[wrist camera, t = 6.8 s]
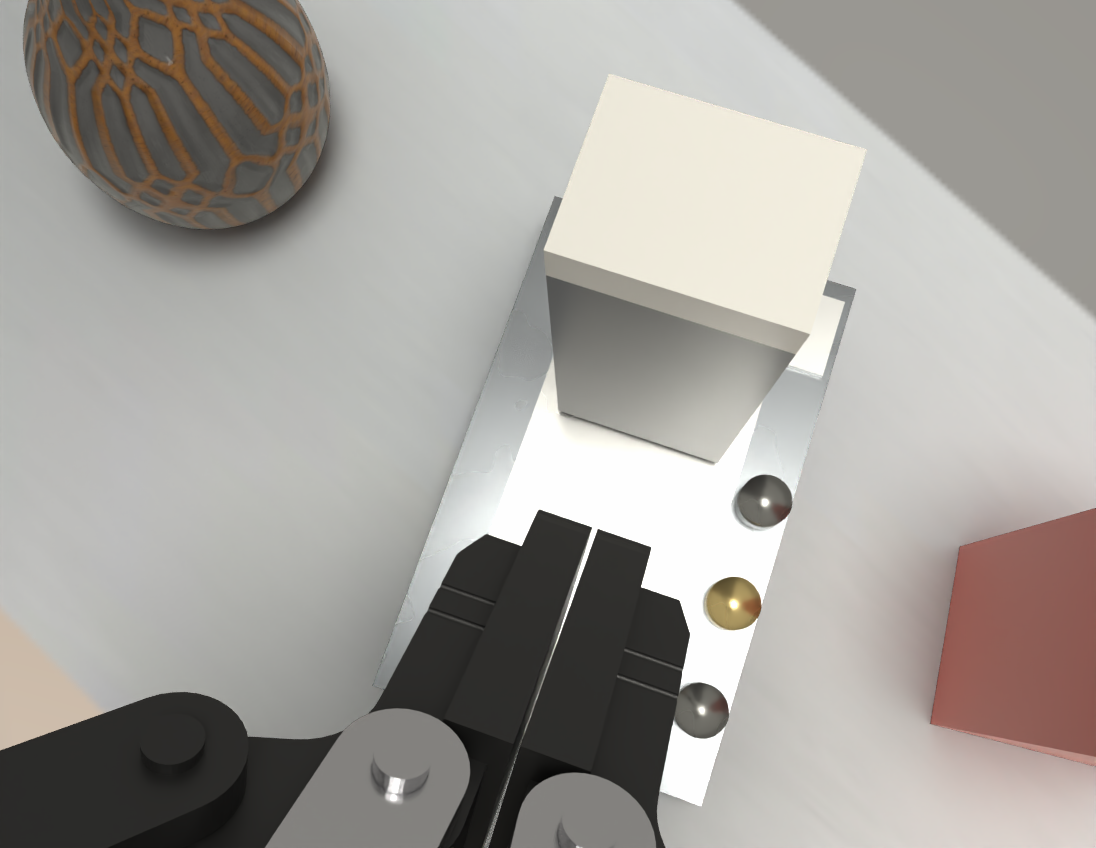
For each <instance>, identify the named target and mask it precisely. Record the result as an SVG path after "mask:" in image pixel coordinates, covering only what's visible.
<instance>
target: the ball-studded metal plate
mask: <svg viewBox="0 0 1096 848" xmlns="http://www.w3.org/2000/svg"><path fill="white" fill-rule="evenodd" d="M562 199H563V198H559V197H556V196H555V197H554V200H553V202H552V205H551V208H550V210H549V213H548V216H547V218H546V221H545V224H544V227H543V229H542V232H541V235H540V237H539V240H538V243H537V245H536V248H535V251H534V253H533V256H532V259H531V261H530V264H529V267H528V269H527V272H526V275H525V278H524V280H523V283H522V286H521V288H520V291H519V294H518V296H517V299H516V302H515V304H514V307H513V310H512V312H511V315H510V318H509V320H508V323H507V326H506V328H505V331H504V334H503V337H502V339H501V342H500V345H499V347H498V350H497V353H496V355H495V358H494V361H493V363H492V366H491V369H490V371H489V374H488V377H487V379H486V382H485V385H484V388H483V390H482V393H481V396H480V398H479V401H478V404H477V406H476V409H475V412H474V414H473V417H472V420H471V422H470V425H469V428H468V430H467V433H466V436H465V439H464V441H463V444H462V447H461V449H460V452H459V455H458V457H457V460H456V463H455V465H454V468H453V471H452V473H451V476H450V479H449V481H448V484H447V487H446V489H445V492H444V495H443V498H442V500H441V503H440V506H439V508H438V511H437V514H436V516H435V519H434V522H433V524H432V527H431V530H430V532H429V535H428V538H427V540H426V543H425V546H424V549H423V551H422V554H421V557H420V559H419V562H418V565H417V567H416V570H415V573H414V575H413V578H412V581H411V583H410V586H409V589H408V591H407V594H406V597H405V599H404V602H403V605H402V608H401V610H400V613H399V616H398V618H397V621H396V624H395V626H394V629H393V632H392V634H391V637H390V640H389V642H388V645H387V648H386V650H385V653H384V656H383V659H382V661H381V664H380V667H379V669H378V672H377V675H376V677H375V680H374V683H373V685H372V686H375V687H378V688H380V689H383V690H385V688H386V686H387V684H388V682H389V680H390V679H391V677H392V675H393V673H394V671H395V669H396V667H397V665H398V664H399V662H400V660H401V658H402V656H403V654H404V652H405V650H406V649H407V647H408V645H409V643H410V641H411V639H412V637H413V635H414V633H415V632H416V630H417V628H418V626H419V624H420V622H421V620H422V618H423V617H424V615H425V613H427V611H428V608H429V605H430V603H431V601H432V600H433V598H434V596H435V594H436V592H437V590H438V588H440V586H441V583H442V581H443V579H444V577H445V575H446V573H447V571H448V570H449V568H450V566H451V564H452V562H453V560H454V558H455V556H456V554H457V553H459V552H460V551H461V550H463V549H464V548H466V547H467V546H469V545H470V544H472V543H473V542H475V541H476V540H478V539H479V538H480V537H482V536H483V535H485V534H489V535H492V536H495V537H498V538H500V539H503V540H506V541H509V542H512V543H515V544H518V545H521V546H522V544H523V542H524V539H525V537H526V535H527V533H528V530H529V528H530V526H531V524H532V522H533V519H534V517H535V515H536V513H537V511H538V510H539V509H541V510H544V511H547V512H550V513H553V514H556V515H559V516H562V517H565V518H568V519H571V520H574V521H577V522H580V523H582V524H585V525H588V526H591V527H593V528H592V532H591V535H590V539H589V542H588V545H587V548H586V551H585V555H584V558H583V561H582V564H581V567H580V570H579V574H578V577H577V580H576V583H575V586H574V590H573V593H572V596H571V599H570V602H569V605H568V609H567V612H566V615H565V618H564V621H565V619H566V616H567V613H568V610H569V607H570V605H571V602H572V599H573V596H574V593H575V591H576V588H577V585H578V582H579V579H580V576H581V574H582V571H583V568H584V565H585V562H586V560H587V557H588V554H589V551H590V548H591V546H592V543H593V540H594V537H595V534H596V532H597V529H601V530H604V531H607V532H610V533H613V534H616V535H619V536H621V537H624V538H627V539H630V540H633V541H636V542H639V543H642V544H645V545H648V546H651V547H652V549H651V553H650V557H649V561H648V565H647V568H646V572H645V576H644V579H643V583H642V587H644V588H647V589H649V590H652V591H655V592H658V593H661V594H664V595H667V596H670V597H673V598H676V599H679V600H680V602H681V605H682V608H683V611H684V615H685V618H686V621H687V624H688V628H689V631H690V634H691V635H690V640H689V645H688V650H687V655H686V660H685V665H684V669H683V672H682V674H683V675H682V680H681V685H680V690H679V695H678V698H677V706H676V711H675V716H674V721H673V726H672V731H671V736H670V741H669V746H668V751H667V756H666V761H665V766H664V771H663V776H662V781H661V786H660V791H661V792H663V793H666V794H669V795H671V796H674V797H677V798H680V799H682V800H685V801H688V802H690V803H693V804H696V805H699V806H701V805H702V802H703V798H704V795H705V792H706V788H707V785H708V782H709V778H710V775H711V772H712V768H713V765H714V762H715V758H716V755H717V752H718V748H719V745H720V742H721V738H722V735H723V732H724V728H725V726H726V724H727V721H728V718H729V712H730V708H731V705H732V702H733V698H734V695H735V692H736V688H737V685H738V682H739V678H740V675H741V672H742V668H743V665H744V662H745V658H746V655H747V652H748V648H749V645H750V642H751V638H752V635H753V632H754V628H755V625H756V622H757V618H758V616H759V614H760V611H761V605H762V602H763V598H764V595H765V592H766V588H767V585H768V582H769V578H770V575H771V572H772V568H773V565H774V562H775V558H776V555H777V552H778V548H779V545H780V542H781V538H782V535H783V532H784V528H785V525H786V522H787V518H788V515H789V513H790V511H791V508H792V502H793V498H794V495H795V492H796V488H797V485H798V482H799V478H800V475H801V472H802V468H803V465H804V461H805V458H806V455H807V451H808V448H809V445H810V441H811V438H812V435H813V431H814V428H815V425H816V421H817V418H818V415H819V411H820V408H821V405H822V401H823V398H824V395H825V391H826V388H827V385H828V381H829V378H830V375H831V371H832V368H833V365H834V361H835V358H836V355H837V351H838V348H839V345H840V341H841V338H842V335H843V331H844V328H845V325H846V321H847V318H848V315H849V311H850V308H851V305H852V301H853V298H854V295H855V291H856V289H854V288H851V287H848V286H844V285H841V284H838V283H835V282H832V281H828V280H827V282H826V285H825V288H824V292H823V295H822V298H821V301H820V305H819V308H818V311H817V314H816V318H815V321H814V324H813V327H812V331H811V334H810V335H809V337H808V338H807V340H806V341H805V342H804V344H803V345H802V347H801V348H800V349H799V351H798V352H797V354H796V355H795V356H794V358H793V359H792V361H791V362H790V363H789V365H788V366H787V368H786V369H785V370H784V372H783V373H782V374H781V376H780V377H779V379H778V380H777V381H776V383H775V384H774V386H773V387H772V388H771V390H770V391H769V393H768V394H767V395H766V397H765V398H764V400H763V401H762V402H761V404H760V405H759V407H758V408H757V409H756V411H755V412H754V414H753V415H752V416H751V418H750V419H749V420H748V422H747V423H746V425H745V426H744V427H743V429H742V430H741V432H740V433H739V434H738V436H737V437H736V439H735V440H734V441H733V443H732V444H731V446H730V447H729V448H728V450H727V451H726V453H725V454H724V455H723V457H722V458H721V459H720V461H719V462H718V463H715V462H712V461H709V460H706V459H703V458H700V457H697V456H694V455H691V454H688V453H685V452H682V451H679V450H676V449H673V448H670V447H667V446H664V445H661V444H658V443H655V442H652V441H649V440H646V439H643V438H640V437H637V436H634V435H631V434H628V433H625V432H622V431H619V430H616V429H613V428H610V427H607V426H604V425H601V424H598V423H595V422H592V421H588V420H585V419H582V418H579V417H576V416H573V415H570V414H567V413H564V412H561V411H558V400H557V389H556V379H555V368H554V357H553V346H552V336H551V325H550V314H549V303H548V293H547V282H546V271H545V260H544V248H545V245H546V242H547V240H548V237H549V234H550V231H551V229H552V226H553V223H554V221H555V218H556V215H557V213H558V210H559V207H560V204H561V202H562ZM564 621H563V624H564ZM563 624H562V627H563ZM562 627H561V630H562ZM561 630H560V633H561ZM560 633H559V635H560ZM558 638H559V636H558ZM557 641H558V639H557ZM556 644H557V642H556ZM555 647H556V645H555ZM554 650H555V648H554ZM553 652H554V651H553ZM552 655H553V654H552ZM551 658H552V657H551ZM550 661H551V660H550ZM549 664H550V662H549ZM548 666H549V665H548ZM547 669H548V668H547ZM546 672H547V671H546ZM545 675H546V674H545ZM544 678H545V676H544ZM543 680H544V679H543ZM542 683H543V682H542ZM541 686H542V685H541ZM540 689H541V688H540ZM539 692H540V690H539ZM538 695H539V693H538ZM537 697H538V696H537ZM536 700H537V699H536ZM535 703H536V702H535ZM534 706H535V704H534ZM533 709H534V707H533ZM532 711H533V710H532ZM531 714H532V713H531ZM530 717H531V716H530ZM529 720H530V718H529ZM528 723H529V721H528ZM527 725H528V724H527ZM526 728H527V727H526ZM525 731H526V730H525ZM524 734H525V733H524ZM523 737H524V735H523ZM522 740H523V738H522Z"/></svg>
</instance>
